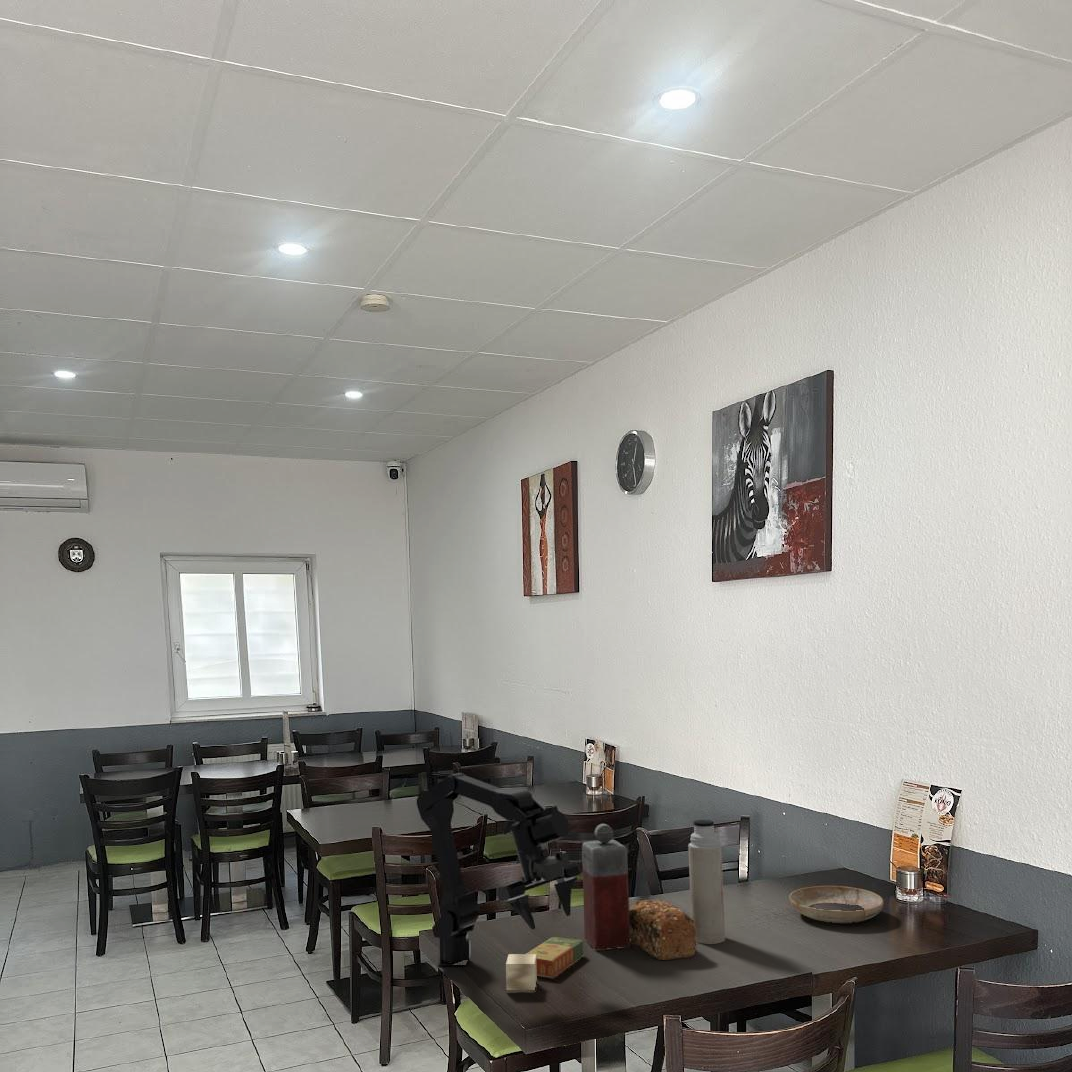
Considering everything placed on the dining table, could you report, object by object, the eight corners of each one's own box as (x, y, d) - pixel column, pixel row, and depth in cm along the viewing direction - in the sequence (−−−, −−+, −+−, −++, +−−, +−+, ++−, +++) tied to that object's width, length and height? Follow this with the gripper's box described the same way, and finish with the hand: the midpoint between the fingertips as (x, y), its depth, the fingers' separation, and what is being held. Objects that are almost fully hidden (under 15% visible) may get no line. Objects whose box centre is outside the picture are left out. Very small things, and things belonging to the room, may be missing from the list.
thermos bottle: (725, 934, 233) (720, 817, 236) (725, 944, 225) (720, 824, 228) (692, 933, 235) (688, 817, 237) (691, 943, 227) (686, 823, 230)
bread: (698, 957, 217) (696, 912, 218) (655, 963, 214) (654, 917, 215) (664, 933, 235) (663, 892, 236) (624, 938, 232) (623, 896, 233)
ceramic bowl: (781, 904, 257) (780, 885, 258) (868, 903, 256) (867, 884, 257) (801, 931, 234) (800, 910, 235) (897, 930, 233) (896, 909, 234)
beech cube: (506, 993, 198) (505, 963, 199) (509, 983, 204) (508, 954, 205) (535, 993, 198) (534, 963, 198) (536, 983, 204) (536, 954, 204)
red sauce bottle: (616, 933, 236) (612, 818, 239) (630, 947, 225) (626, 826, 228) (581, 936, 234) (578, 820, 237) (594, 950, 223) (591, 829, 226)
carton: (520, 975, 209) (519, 955, 210) (552, 953, 223) (551, 934, 224) (554, 980, 205) (553, 960, 206) (584, 958, 219) (583, 938, 220)
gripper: (511, 854, 195) (533, 932, 190) (582, 831, 206) (605, 904, 201) (487, 862, 204) (508, 937, 199) (557, 840, 214) (578, 911, 210)
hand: (551, 922), depth 202 cm, fingers open, 9 cm apart
